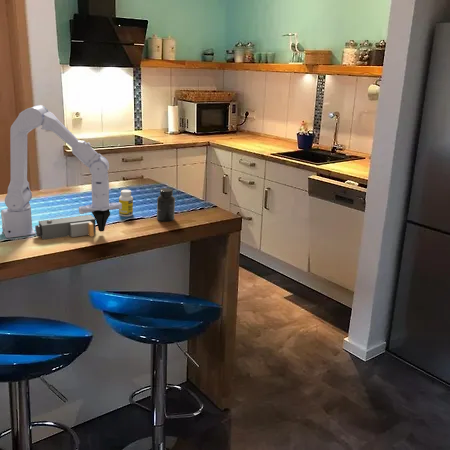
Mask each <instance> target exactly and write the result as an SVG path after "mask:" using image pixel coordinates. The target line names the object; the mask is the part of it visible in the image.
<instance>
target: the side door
mask: <svg viewBox="0 0 450 450" xmlns="http://www.w3.org/2000/svg"><path fill="white" fill-rule="evenodd" d="M94 235H95V233H94V227H93V223H92V222H91V221H86V222H78V223H70V236H69V237H71V238H74V237H81V236H89V237H94Z"/></svg>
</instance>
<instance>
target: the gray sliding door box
mask: <svg viewBox="0 0 450 450" xmlns="http://www.w3.org/2000/svg"><path fill="white" fill-rule="evenodd" d="M86 221H91V222H92V223H93V227H94V234H95V233H97V231H96V230H97V229H96V220H95V217H94V215H91V214H88V215H78V216H77V215H76V216H70V217H63V218H54V219H53V218H52V219H46V220H38V225H35V227H34V231H35V232H36V234H35V236H36V237H41V239H42V240H43V241H44V240H50V239H57V238H59V239H60V238H65V237H71V236H70V223H78V222H86Z"/></svg>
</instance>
